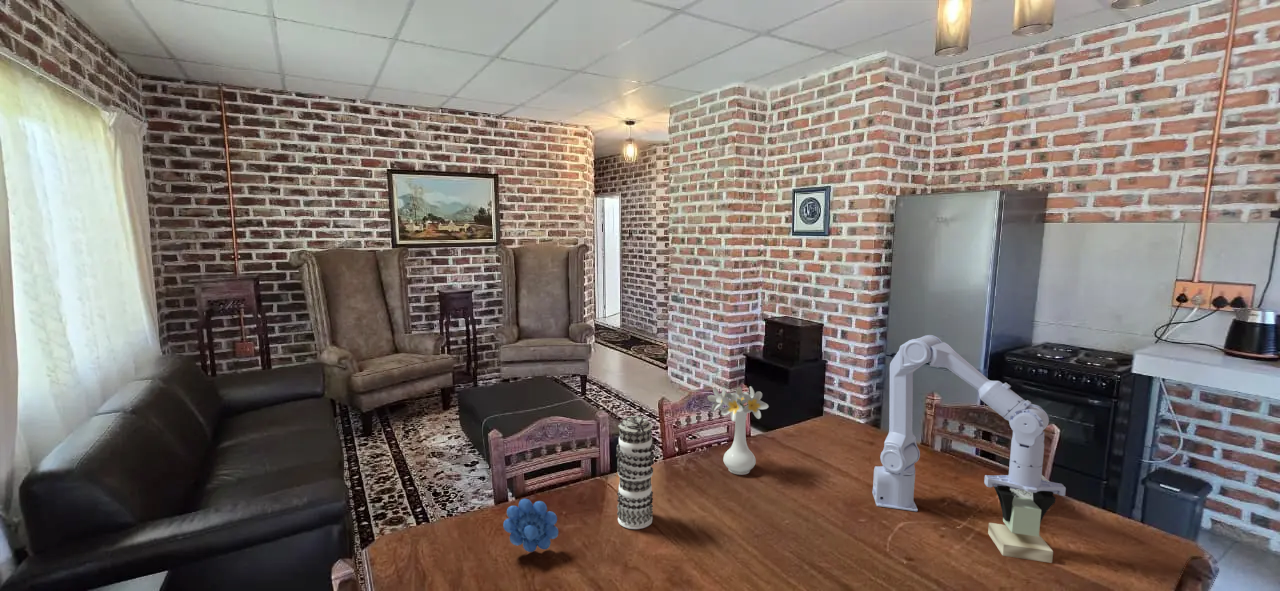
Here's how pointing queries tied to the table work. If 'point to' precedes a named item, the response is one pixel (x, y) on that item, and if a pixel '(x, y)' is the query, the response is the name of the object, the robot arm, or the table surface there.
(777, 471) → the table surface
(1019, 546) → the cream block
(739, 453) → the flower vase
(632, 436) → the decorative candle
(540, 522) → the blue flower
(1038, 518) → the sage block
